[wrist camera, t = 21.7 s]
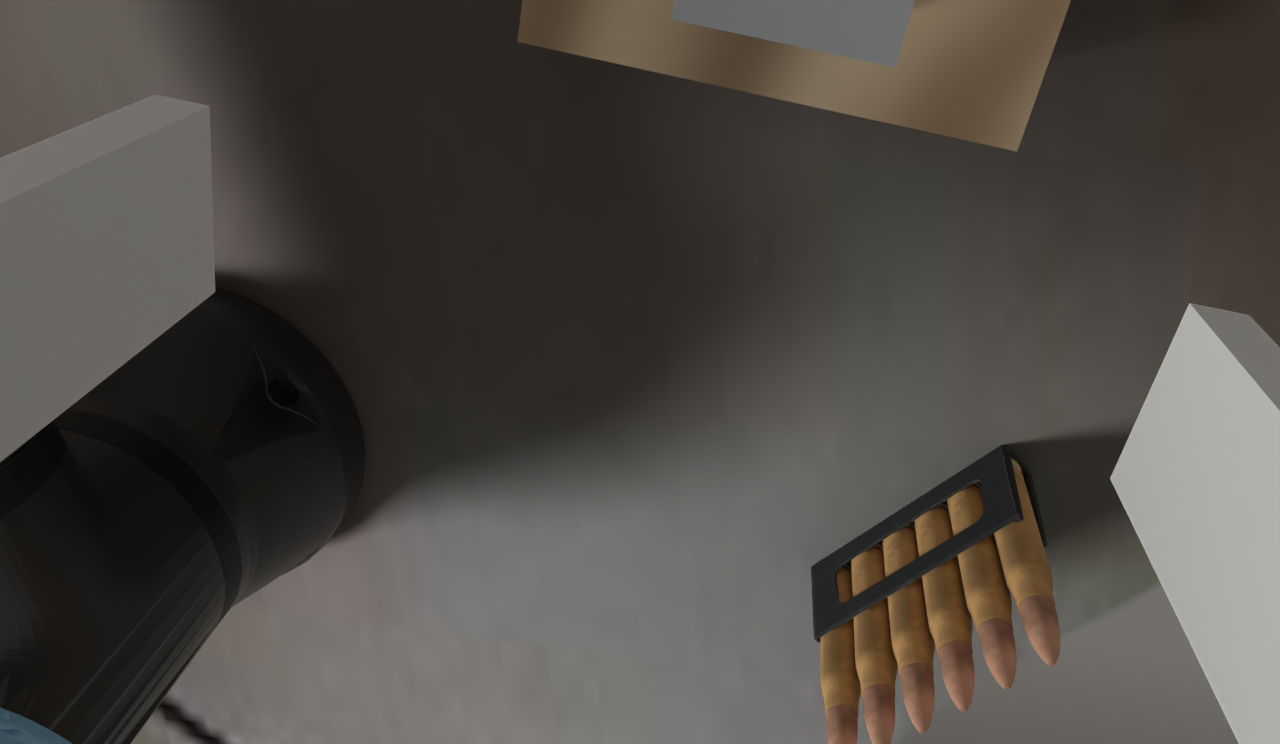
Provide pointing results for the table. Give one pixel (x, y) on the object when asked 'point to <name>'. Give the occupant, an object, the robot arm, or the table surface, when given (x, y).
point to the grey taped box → (810, 23)
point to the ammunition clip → (933, 598)
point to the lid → (837, 60)
